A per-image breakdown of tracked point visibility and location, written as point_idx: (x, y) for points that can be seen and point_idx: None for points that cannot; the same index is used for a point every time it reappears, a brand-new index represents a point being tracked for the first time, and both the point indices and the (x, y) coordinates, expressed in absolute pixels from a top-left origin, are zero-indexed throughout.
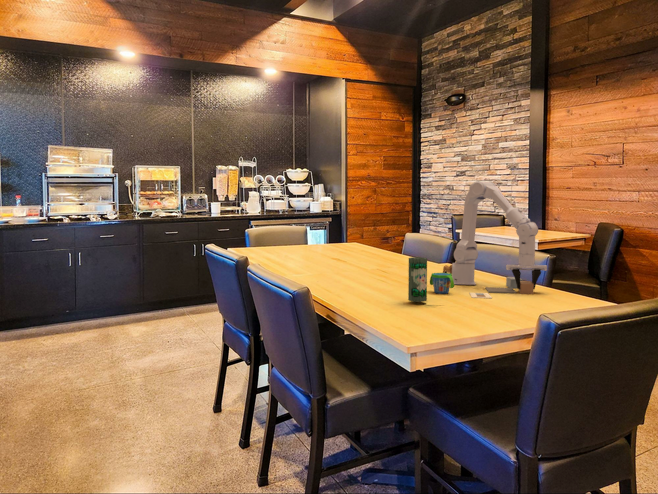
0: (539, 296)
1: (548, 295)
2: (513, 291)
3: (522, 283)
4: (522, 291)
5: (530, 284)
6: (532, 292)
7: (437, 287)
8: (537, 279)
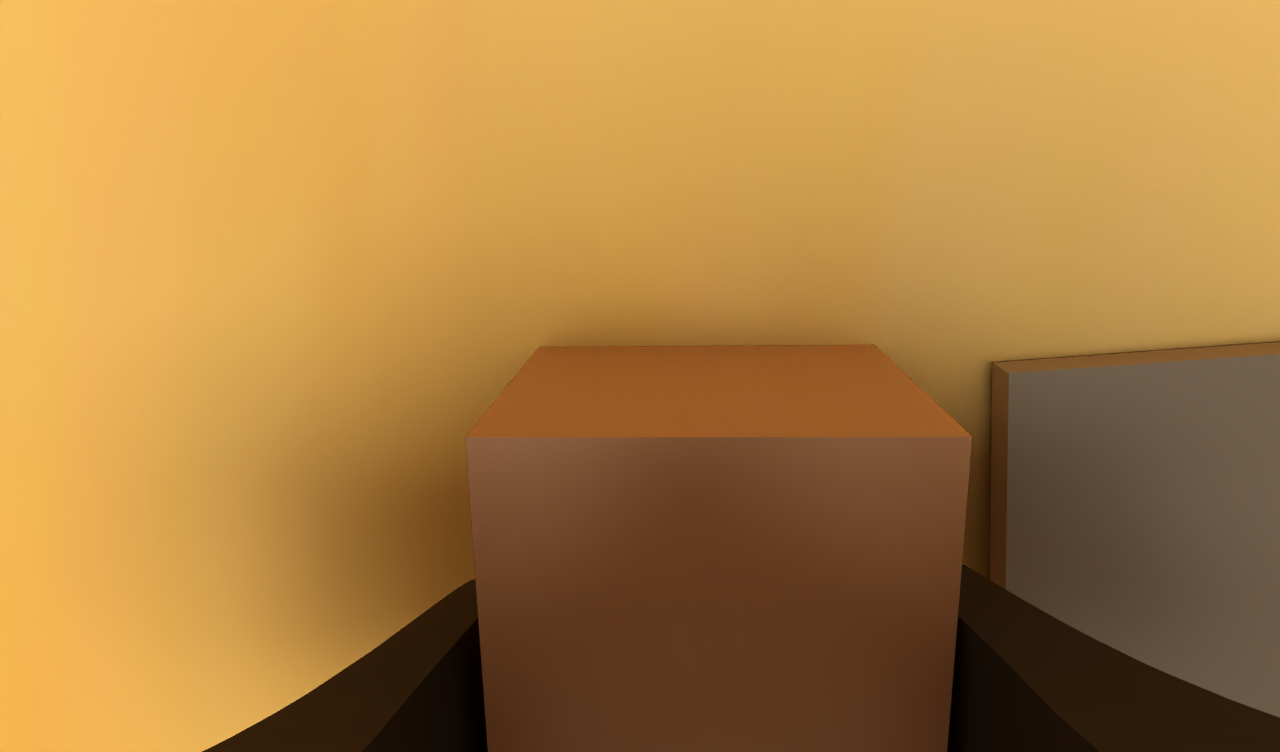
0: (403, 14)
1: (164, 260)
2: (1075, 446)
3: (899, 478)
4: (839, 357)
5: (589, 424)
6: (554, 359)
7: None
8: (236, 735)
